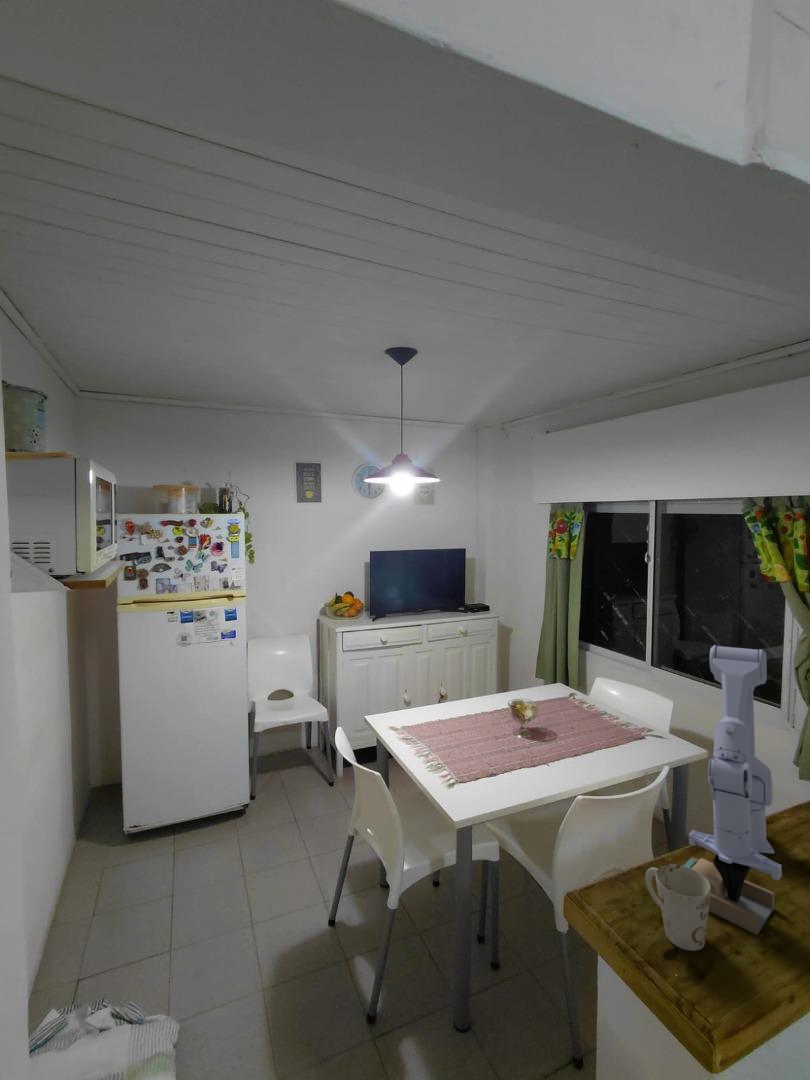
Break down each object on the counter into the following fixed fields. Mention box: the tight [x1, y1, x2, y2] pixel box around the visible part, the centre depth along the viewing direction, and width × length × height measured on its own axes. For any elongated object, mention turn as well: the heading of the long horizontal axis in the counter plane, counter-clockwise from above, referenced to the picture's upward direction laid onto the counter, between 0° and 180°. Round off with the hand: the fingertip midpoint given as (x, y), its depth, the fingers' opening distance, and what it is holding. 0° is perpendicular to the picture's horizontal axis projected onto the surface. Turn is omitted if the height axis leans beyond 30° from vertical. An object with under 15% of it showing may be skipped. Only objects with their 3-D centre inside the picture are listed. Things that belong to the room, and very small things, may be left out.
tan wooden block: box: [691, 857, 728, 899], centre depth 98 cm, size 5×6×4 cm
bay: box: [683, 856, 775, 936], centre depth 97 cm, size 14×9×3 cm, turn 39°
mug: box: [645, 863, 711, 952], centre depth 91 cm, size 8×13×10 cm, turn 22°
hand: (734, 897), depth 95 cm, fingers closed
